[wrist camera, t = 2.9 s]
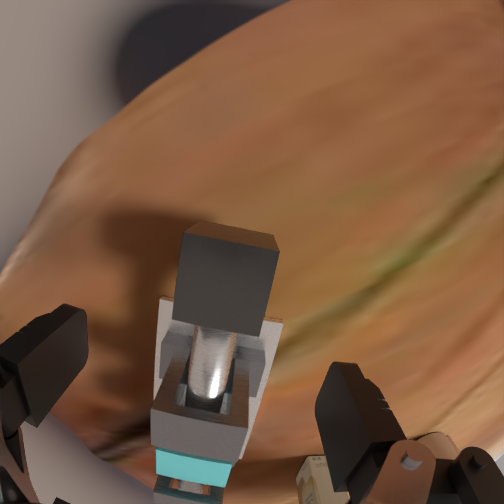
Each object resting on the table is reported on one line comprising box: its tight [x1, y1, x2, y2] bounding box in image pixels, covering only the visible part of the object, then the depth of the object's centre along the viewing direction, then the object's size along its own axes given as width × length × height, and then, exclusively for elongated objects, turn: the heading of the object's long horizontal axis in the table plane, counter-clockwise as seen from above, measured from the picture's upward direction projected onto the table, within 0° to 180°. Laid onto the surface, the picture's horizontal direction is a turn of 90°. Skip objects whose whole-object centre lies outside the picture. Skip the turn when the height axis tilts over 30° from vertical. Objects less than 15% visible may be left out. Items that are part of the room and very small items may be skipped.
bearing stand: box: [151, 296, 283, 504], centre depth 23 cm, size 11×20×11 cm, turn 168°
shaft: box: [172, 220, 280, 494], centre depth 21 cm, size 28×5×5 cm, turn 168°
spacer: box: [156, 446, 232, 487], centre depth 22 cm, size 6×4×6 cm, turn 78°
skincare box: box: [296, 456, 349, 504], centre depth 26 cm, size 6×4×12 cm
